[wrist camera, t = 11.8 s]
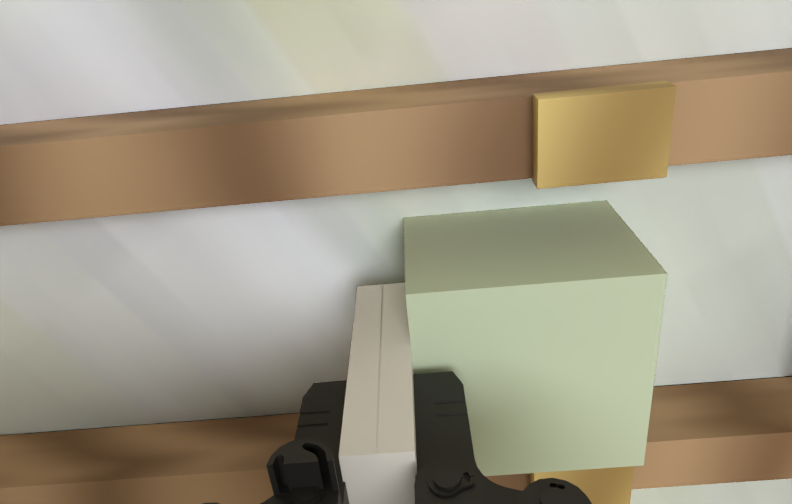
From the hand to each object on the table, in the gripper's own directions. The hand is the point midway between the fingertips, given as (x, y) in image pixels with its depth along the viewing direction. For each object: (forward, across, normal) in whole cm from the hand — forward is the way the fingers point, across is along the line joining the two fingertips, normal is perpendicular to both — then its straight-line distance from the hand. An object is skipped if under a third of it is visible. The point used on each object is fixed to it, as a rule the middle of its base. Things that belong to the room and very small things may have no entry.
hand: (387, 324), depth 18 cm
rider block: (+2, +4, 0) cm, 4 cm away
